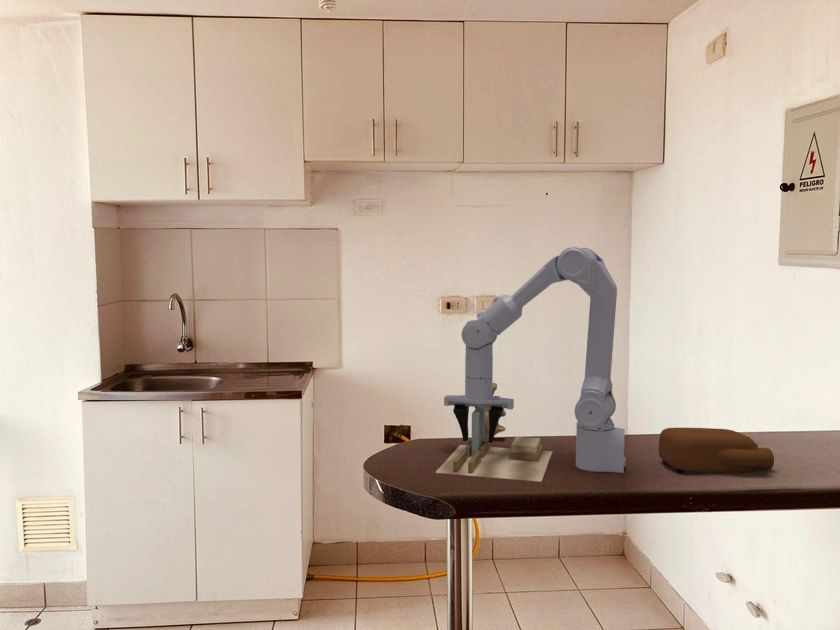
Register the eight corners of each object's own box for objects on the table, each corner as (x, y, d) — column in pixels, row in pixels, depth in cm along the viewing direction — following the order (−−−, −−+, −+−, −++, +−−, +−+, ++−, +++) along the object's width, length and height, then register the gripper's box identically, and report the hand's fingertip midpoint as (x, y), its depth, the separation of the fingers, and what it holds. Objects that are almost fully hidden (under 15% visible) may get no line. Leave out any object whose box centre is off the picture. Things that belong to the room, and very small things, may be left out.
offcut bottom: (542, 451, 151) (542, 444, 151) (538, 461, 143) (538, 454, 143) (514, 449, 153) (514, 442, 153) (508, 459, 145) (508, 452, 145)
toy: (740, 461, 152) (649, 458, 150) (743, 425, 151) (652, 422, 150) (780, 482, 137) (680, 479, 135) (784, 442, 137) (683, 439, 135)
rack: (552, 456, 152) (552, 442, 151) (541, 486, 130) (541, 470, 130) (460, 449, 157) (460, 435, 157) (435, 477, 136) (435, 462, 136)
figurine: (504, 446, 159) (505, 379, 158) (470, 444, 161) (471, 378, 160) (506, 439, 166) (507, 375, 164) (474, 438, 167) (474, 374, 166)
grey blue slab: (484, 448, 154) (485, 407, 153) (478, 456, 147) (478, 413, 146) (477, 447, 154) (478, 406, 154) (471, 456, 148) (471, 413, 147)
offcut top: (539, 445, 151) (539, 438, 150) (536, 453, 144) (536, 446, 144) (516, 443, 152) (516, 436, 152) (511, 451, 145) (511, 444, 145)
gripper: (516, 375, 151) (515, 438, 152) (449, 372, 155) (449, 434, 156) (511, 380, 145) (510, 446, 146) (441, 377, 149) (441, 441, 150)
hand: (478, 440), depth 151 cm, fingers open, 5 cm apart
